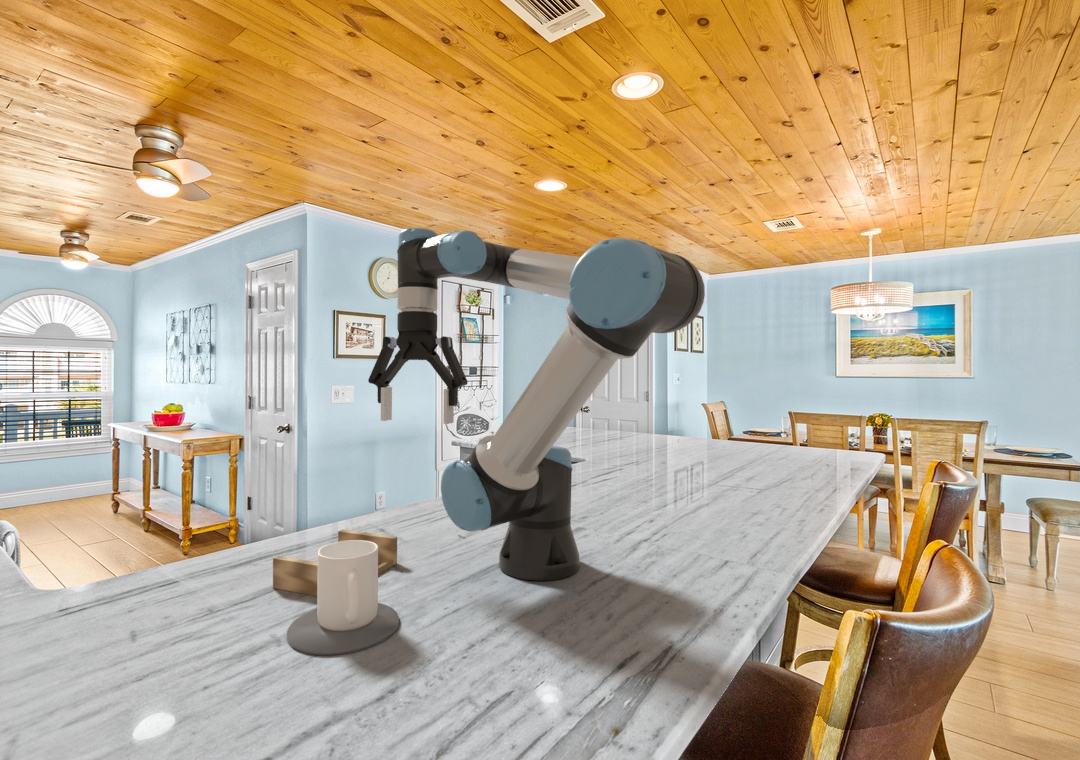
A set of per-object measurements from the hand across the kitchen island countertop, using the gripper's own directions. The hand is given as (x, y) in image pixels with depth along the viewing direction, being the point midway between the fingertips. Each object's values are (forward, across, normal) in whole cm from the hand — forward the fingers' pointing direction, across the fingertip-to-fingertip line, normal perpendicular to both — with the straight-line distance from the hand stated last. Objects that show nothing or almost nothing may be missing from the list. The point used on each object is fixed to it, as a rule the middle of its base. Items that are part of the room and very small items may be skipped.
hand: (416, 421), depth 107 cm
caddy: (+27, +8, +12) cm, 30 cm away
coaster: (+27, -5, +28) cm, 39 cm away
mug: (+26, -6, +28) cm, 39 cm away
